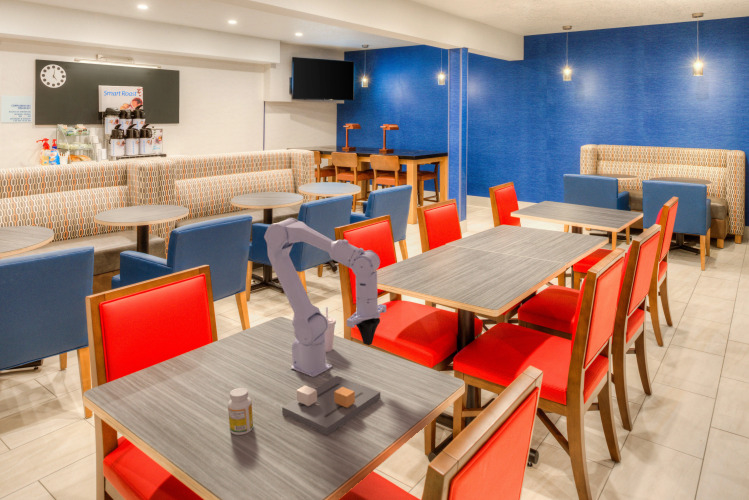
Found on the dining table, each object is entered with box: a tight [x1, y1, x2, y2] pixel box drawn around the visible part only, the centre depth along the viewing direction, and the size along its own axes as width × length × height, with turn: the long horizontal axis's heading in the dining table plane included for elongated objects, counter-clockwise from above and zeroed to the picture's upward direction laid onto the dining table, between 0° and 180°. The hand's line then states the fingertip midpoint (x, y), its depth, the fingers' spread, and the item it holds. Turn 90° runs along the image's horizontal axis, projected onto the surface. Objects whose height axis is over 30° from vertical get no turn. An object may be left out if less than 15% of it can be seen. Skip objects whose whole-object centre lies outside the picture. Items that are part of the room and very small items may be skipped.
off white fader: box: [296, 384, 317, 406], centre depth 130 cm, size 4×3×3 cm
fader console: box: [281, 375, 381, 436], centre depth 132 cm, size 15×20×2 cm
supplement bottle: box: [227, 387, 254, 436], centre depth 122 cm, size 5×5×10 cm
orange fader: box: [334, 387, 355, 408], centre depth 129 cm, size 4×3×3 cm
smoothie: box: [324, 306, 337, 353], centre depth 163 cm, size 6×6×14 cm
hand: (367, 343), depth 144 cm, fingers closed
